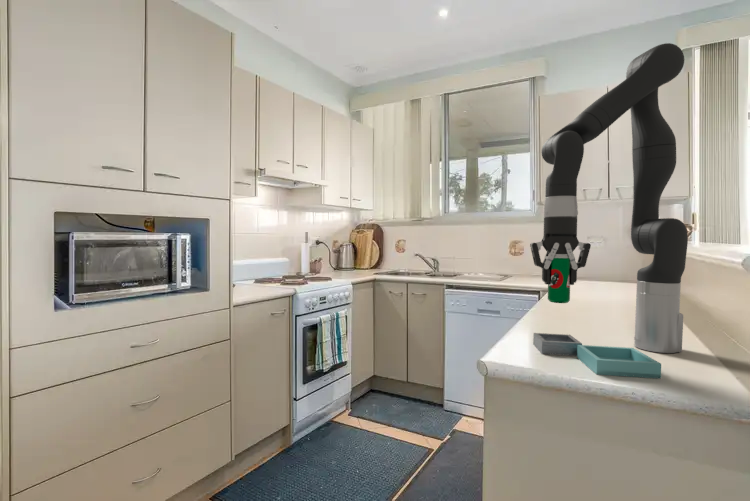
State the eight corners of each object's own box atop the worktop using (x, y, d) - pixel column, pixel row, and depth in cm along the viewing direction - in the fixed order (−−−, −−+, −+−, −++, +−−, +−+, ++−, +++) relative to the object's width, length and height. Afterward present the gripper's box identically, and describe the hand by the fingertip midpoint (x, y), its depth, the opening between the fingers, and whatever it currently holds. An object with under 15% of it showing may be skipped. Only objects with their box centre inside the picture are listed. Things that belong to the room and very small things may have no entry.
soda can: (572, 303, 99) (573, 254, 99) (549, 303, 100) (551, 253, 100) (566, 300, 104) (568, 253, 104) (545, 299, 105) (546, 253, 105)
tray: (632, 360, 94) (633, 347, 94) (660, 378, 82) (661, 363, 82) (577, 357, 96) (577, 344, 96) (596, 374, 84) (597, 359, 84)
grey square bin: (569, 346, 106) (570, 334, 106) (581, 356, 97) (582, 343, 97) (533, 344, 107) (533, 332, 107) (541, 353, 99) (542, 341, 98)
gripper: (586, 216, 104) (584, 283, 104) (526, 216, 106) (525, 282, 107) (597, 214, 96) (595, 286, 97) (533, 214, 99) (532, 285, 99)
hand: (558, 284), depth 102 cm, fingers closed on soda can, 5 cm apart
